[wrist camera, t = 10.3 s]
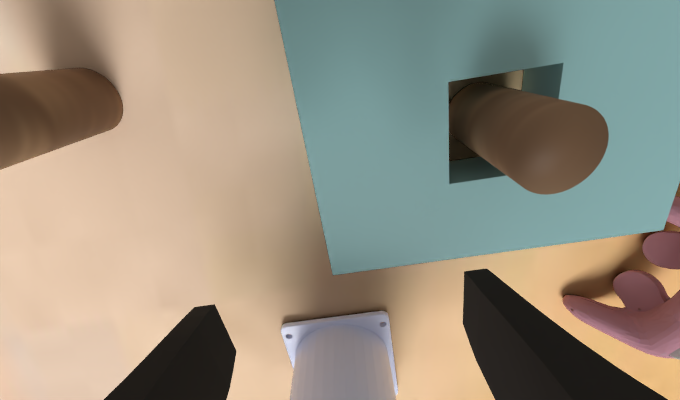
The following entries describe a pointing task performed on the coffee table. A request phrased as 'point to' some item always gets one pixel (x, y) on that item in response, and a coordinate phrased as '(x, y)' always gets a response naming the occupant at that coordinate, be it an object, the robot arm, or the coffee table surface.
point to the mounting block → (433, 121)
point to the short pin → (530, 135)
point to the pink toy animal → (641, 300)
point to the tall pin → (53, 111)
